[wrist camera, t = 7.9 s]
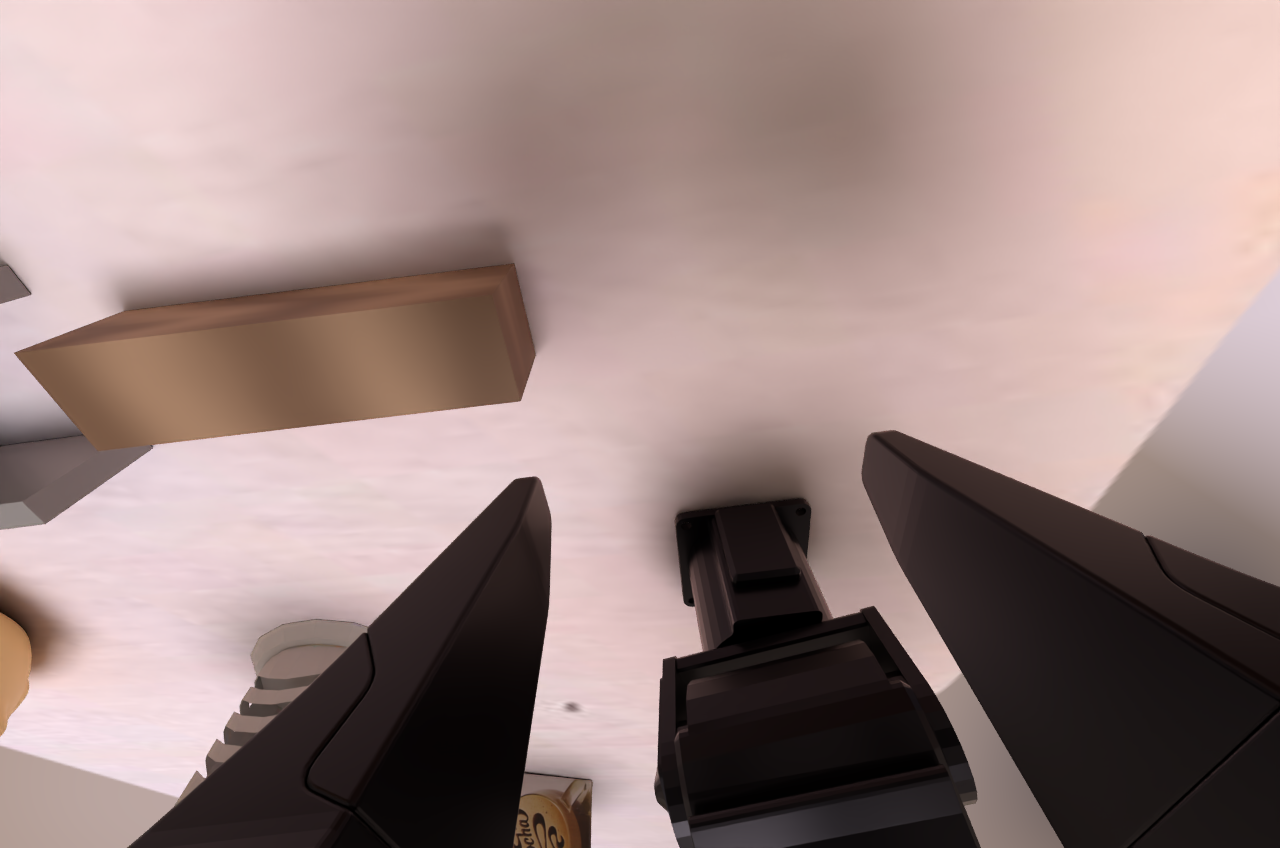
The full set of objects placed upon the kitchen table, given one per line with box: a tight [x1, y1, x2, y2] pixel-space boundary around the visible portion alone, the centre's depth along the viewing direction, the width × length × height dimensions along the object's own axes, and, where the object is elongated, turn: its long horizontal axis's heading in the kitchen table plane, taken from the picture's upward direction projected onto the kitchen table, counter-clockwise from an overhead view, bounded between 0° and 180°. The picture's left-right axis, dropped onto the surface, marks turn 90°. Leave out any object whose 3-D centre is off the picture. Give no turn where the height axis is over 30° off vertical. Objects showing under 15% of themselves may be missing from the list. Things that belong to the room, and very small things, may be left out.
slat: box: [14, 264, 536, 451], centre depth 17 cm, size 14×4×4 cm, turn 96°
